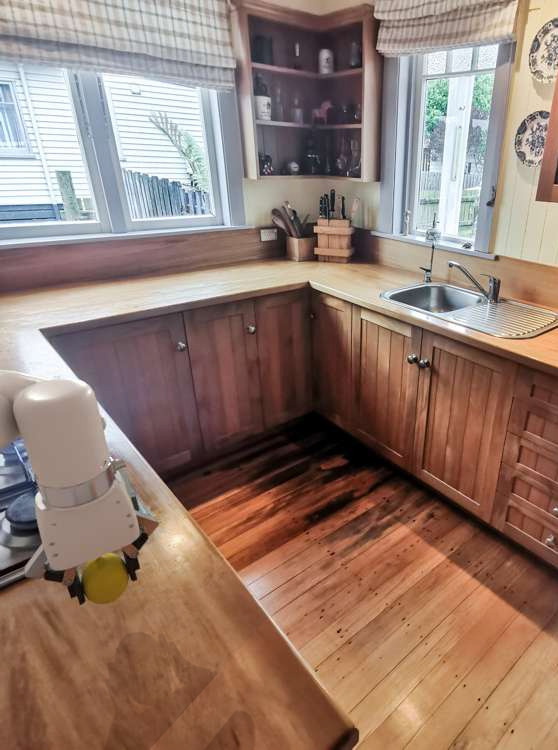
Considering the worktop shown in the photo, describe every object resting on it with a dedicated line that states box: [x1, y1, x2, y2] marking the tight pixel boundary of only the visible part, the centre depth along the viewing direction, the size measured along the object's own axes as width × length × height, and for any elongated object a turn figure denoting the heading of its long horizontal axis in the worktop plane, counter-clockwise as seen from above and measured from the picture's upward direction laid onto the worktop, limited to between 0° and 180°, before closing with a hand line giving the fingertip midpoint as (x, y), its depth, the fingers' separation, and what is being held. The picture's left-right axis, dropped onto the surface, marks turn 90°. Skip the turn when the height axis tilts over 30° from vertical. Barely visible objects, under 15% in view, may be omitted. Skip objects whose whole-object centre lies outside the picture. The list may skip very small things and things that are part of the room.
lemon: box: [80, 552, 130, 605], centre depth 63 cm, size 6×6×8 cm
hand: (107, 584), depth 63 cm, fingers closed on lemon, 5 cm apart
